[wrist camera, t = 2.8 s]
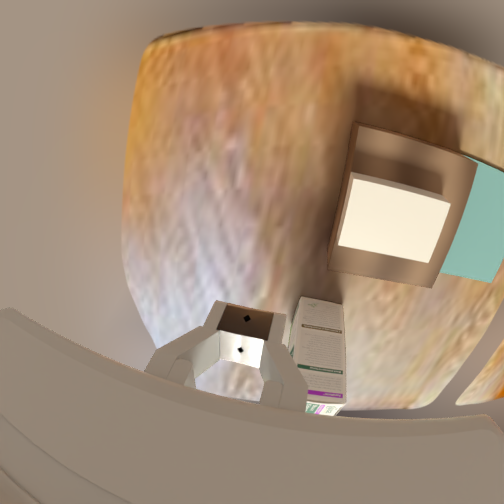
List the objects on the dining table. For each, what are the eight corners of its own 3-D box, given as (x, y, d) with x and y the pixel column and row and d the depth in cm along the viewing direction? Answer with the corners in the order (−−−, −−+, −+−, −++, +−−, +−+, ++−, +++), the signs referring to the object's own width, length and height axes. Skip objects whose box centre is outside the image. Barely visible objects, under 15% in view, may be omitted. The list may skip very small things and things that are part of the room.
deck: (460, 153, 22) (478, 163, 18) (422, 267, 29) (431, 288, 26) (352, 121, 23) (359, 125, 20) (327, 249, 31) (327, 269, 27)
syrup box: (300, 294, 35) (284, 396, 23) (345, 303, 34) (346, 405, 22) (290, 325, 38) (273, 420, 26) (332, 333, 37) (327, 428, 25)
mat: (529, 185, 20) (530, 186, 20) (490, 281, 28) (491, 282, 27) (460, 153, 22) (461, 154, 21) (422, 267, 29) (422, 268, 29)
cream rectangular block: (442, 195, 21) (450, 203, 19) (422, 251, 24) (428, 263, 22) (350, 171, 22) (353, 178, 20) (336, 234, 25) (337, 245, 24)
